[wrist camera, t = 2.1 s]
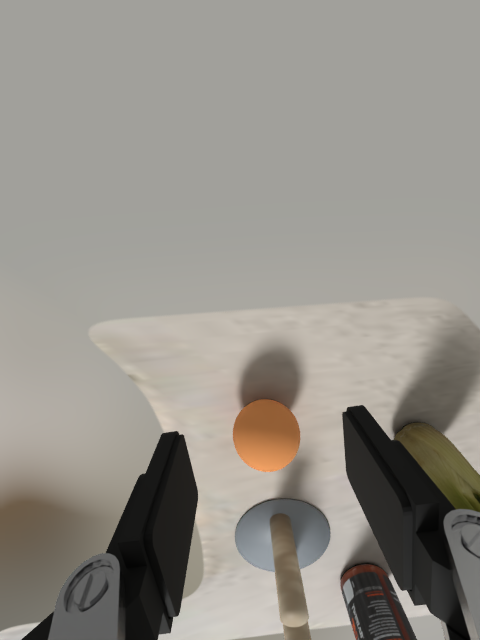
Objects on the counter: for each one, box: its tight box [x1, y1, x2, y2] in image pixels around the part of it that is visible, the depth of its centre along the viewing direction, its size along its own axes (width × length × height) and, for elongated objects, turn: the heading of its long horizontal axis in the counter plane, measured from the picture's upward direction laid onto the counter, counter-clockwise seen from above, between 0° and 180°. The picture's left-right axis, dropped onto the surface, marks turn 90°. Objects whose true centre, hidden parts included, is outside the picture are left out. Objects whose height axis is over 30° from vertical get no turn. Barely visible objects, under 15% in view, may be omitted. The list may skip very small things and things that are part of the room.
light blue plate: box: [235, 499, 330, 572], centre depth 32 cm, size 11×11×1 cm
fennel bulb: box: [394, 422, 480, 512], centre depth 23 cm, size 6×5×12 cm
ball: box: [233, 399, 300, 472], centre depth 25 cm, size 6×6×6 cm
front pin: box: [270, 513, 309, 627], centre depth 27 cm, size 2×2×8 cm
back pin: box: [283, 621, 311, 640], centre depth 28 cm, size 2×2×8 cm
